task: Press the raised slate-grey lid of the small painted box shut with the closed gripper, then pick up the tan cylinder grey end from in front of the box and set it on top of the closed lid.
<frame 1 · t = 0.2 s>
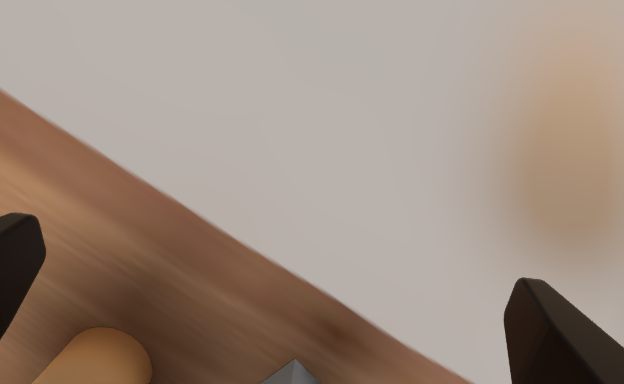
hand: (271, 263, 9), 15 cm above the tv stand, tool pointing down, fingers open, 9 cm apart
tan cylinder grey end: (109, 365, 29), on the tv stand
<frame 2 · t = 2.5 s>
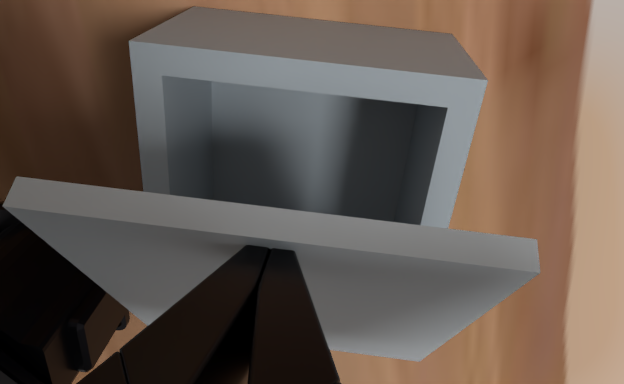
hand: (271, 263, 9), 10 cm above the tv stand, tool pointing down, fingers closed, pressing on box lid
box lid: (278, 296, 12), point 8 cm above the tv stand, hinge at 32.5°, touching gripper
box: (310, 139, 19), on the tv stand
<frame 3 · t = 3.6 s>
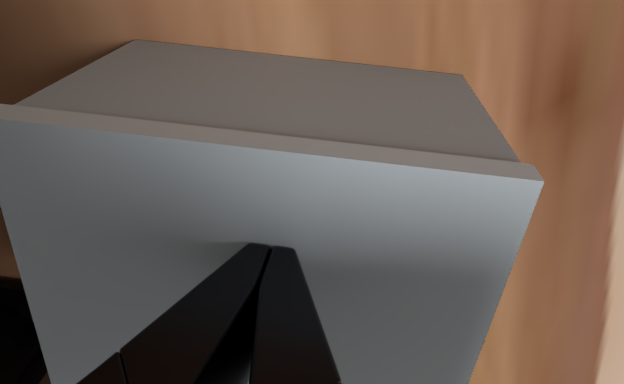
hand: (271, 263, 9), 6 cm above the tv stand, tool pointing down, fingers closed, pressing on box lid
box lid: (251, 336, 10), point 6 cm above the tv stand, hinge at 1.3°, touching box, gripper
box: (287, 198, 16), on the tv stand
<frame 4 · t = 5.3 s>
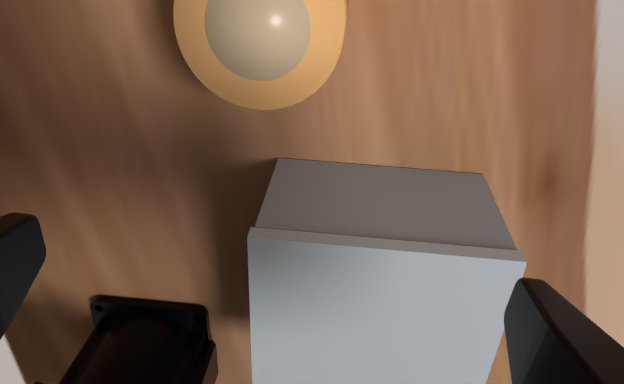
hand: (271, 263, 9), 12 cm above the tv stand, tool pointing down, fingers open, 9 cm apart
box lid: (370, 339, 19), point 6 cm above the tv stand, hinge at 1.1°
tan cylinder grey end: (280, 3, 19), on the tv stand
box: (369, 248, 24), on the tv stand
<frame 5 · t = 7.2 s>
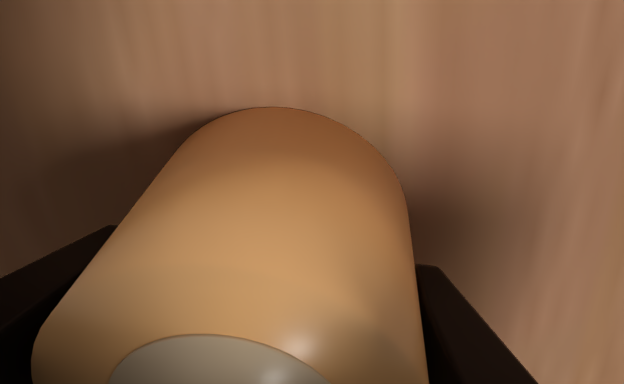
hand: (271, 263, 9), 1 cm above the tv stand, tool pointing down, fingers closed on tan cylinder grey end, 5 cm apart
tan cylinder grey end: (281, 225, 10), on the tv stand, touching gripper
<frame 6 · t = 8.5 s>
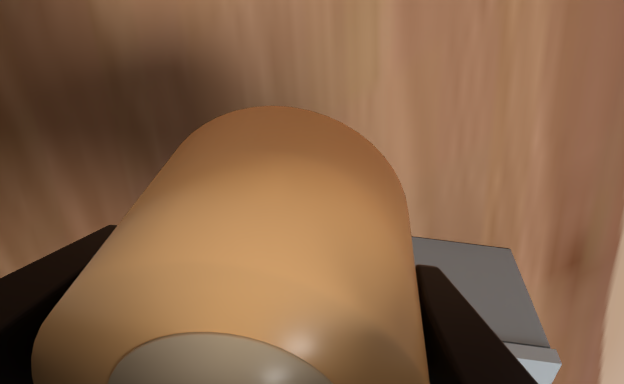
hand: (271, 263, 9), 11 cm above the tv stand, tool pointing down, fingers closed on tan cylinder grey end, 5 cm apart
tan cylinder grey end: (281, 224, 10), point 10 cm above the tv stand, touching gripper
box: (390, 310, 24), on the tv stand
when the fingers open (9 cm above the tv stand, at t = 10.2 s): tan cylinder grey end drops 1 cm, resting on box lid.
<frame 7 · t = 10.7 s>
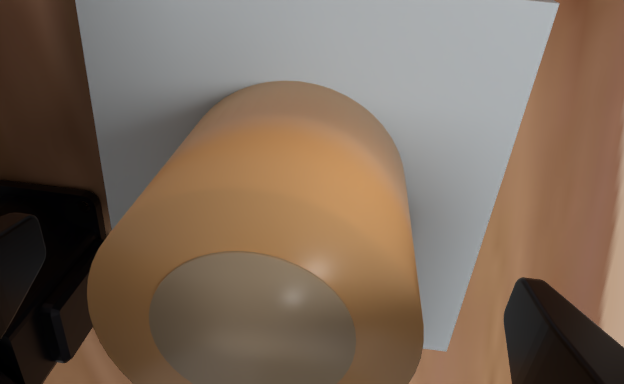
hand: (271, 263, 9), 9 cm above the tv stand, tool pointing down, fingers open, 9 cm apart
box lid: (294, 183, 12), point 6 cm above the tv stand, hinge at -0.2°, touching box, tan cylinder grey end
tan cylinder grey end: (292, 189, 11), point 6 cm above the tv stand, touching box lid
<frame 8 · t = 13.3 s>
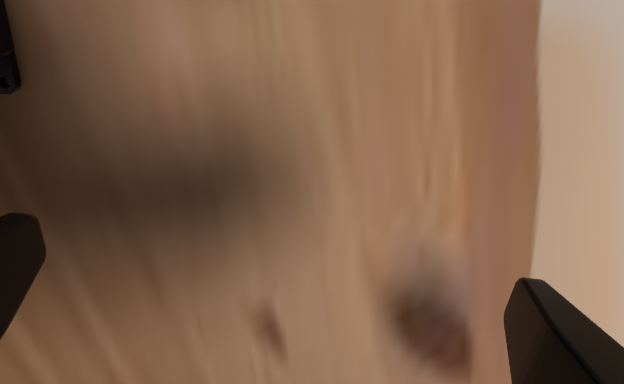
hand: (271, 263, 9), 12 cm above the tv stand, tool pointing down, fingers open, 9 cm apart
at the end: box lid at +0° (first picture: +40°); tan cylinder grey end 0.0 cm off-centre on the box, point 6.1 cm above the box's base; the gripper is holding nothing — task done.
